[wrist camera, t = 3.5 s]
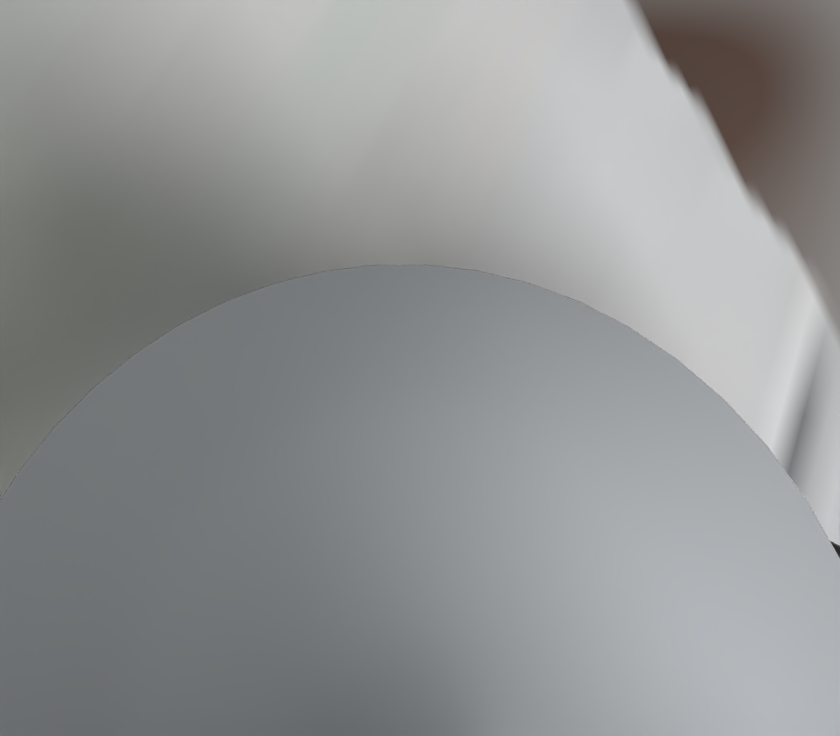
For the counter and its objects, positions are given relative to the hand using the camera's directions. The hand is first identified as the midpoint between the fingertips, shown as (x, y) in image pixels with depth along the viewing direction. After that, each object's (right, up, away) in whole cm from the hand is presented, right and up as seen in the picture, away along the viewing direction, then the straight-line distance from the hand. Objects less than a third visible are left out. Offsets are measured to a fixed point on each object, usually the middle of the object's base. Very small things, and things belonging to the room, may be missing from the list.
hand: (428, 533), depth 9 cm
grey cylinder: (+1, -3, +6) cm, 7 cm away
